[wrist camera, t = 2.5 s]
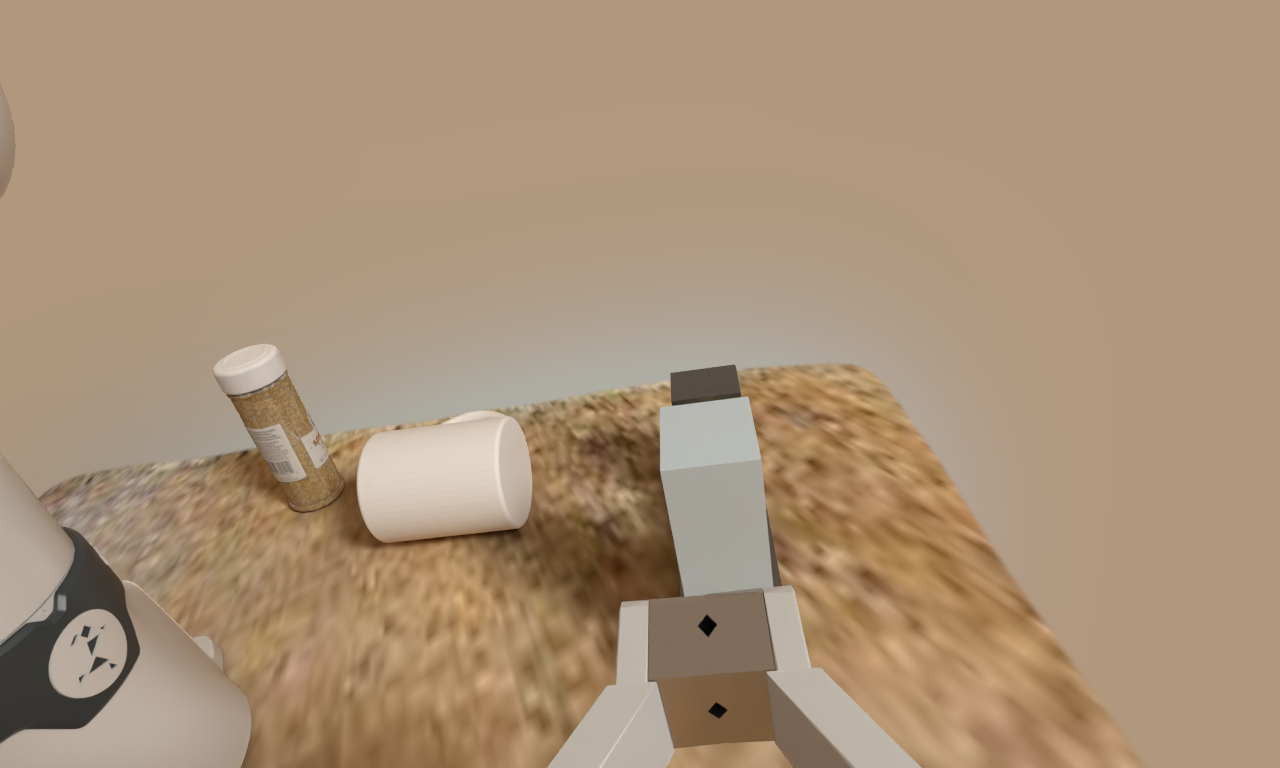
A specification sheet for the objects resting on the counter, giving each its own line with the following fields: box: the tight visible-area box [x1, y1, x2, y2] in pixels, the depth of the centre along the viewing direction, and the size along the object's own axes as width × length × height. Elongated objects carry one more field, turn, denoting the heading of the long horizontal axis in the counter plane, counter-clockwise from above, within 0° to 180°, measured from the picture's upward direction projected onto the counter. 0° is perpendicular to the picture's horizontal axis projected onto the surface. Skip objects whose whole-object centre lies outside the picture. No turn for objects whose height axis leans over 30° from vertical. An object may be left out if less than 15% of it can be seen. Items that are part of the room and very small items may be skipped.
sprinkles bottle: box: [213, 344, 345, 512], centre depth 54 cm, size 5×5×13 cm
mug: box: [357, 411, 532, 543], centre depth 51 cm, size 12×10×8 cm
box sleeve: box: [660, 396, 773, 597], centre depth 35 cm, size 4×5×12 cm
